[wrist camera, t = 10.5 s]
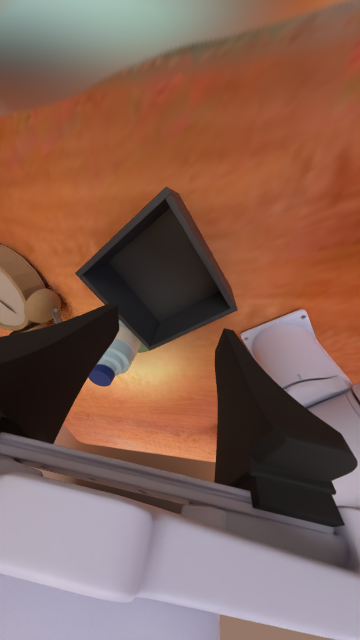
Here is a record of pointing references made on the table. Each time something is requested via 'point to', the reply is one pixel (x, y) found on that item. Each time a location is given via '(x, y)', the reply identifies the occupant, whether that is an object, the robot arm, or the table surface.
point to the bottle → (116, 357)
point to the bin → (160, 274)
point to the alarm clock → (24, 296)
